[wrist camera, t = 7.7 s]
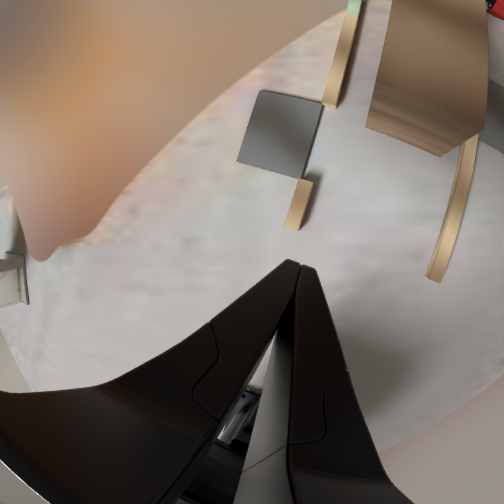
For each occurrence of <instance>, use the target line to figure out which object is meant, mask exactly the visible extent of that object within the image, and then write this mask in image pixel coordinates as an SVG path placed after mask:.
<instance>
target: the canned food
mask: <svg viewBox="0 0 504 504" xmlns="http://www.w3.org/2000/svg"><path fill="white" fill-rule="evenodd" d="M485 2H487V7H488V9H487V12H489V13H490V14H492V15H494V16H496V17H498V18H500V19H503V20H504V0H485Z"/></svg>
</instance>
